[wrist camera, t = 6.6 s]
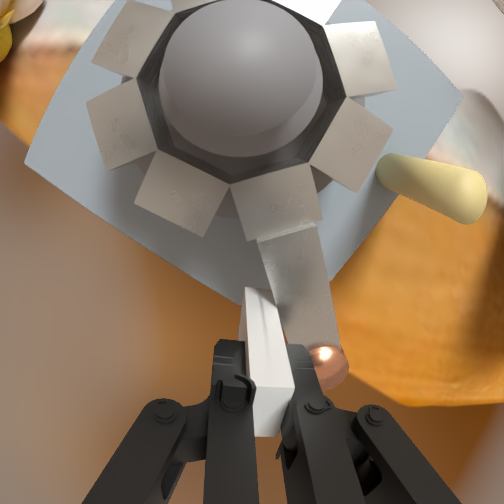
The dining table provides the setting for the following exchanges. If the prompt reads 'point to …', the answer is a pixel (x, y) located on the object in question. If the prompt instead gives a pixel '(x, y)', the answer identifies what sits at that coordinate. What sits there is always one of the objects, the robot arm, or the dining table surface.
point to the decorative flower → (13, 19)
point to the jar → (500, 4)
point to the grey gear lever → (260, 179)
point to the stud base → (255, 135)
